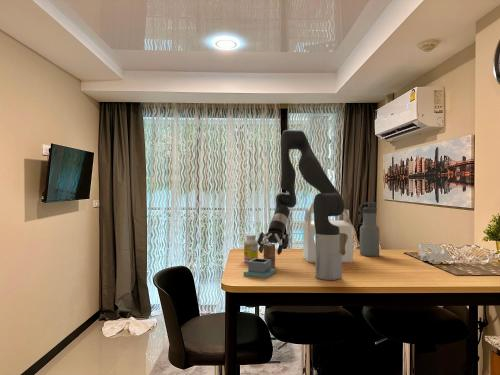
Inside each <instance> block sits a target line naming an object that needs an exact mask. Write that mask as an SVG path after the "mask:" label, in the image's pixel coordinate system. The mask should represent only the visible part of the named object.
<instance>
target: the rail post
mask: <svg viewBox="0 0 500 375" xmlns="http://www.w3.org/2000/svg"><path fill="white" fill-rule="evenodd" d="M263 259H269V260H271V269H274V268H275V267H276V243H269V244H265V245H264V249H263Z"/></svg>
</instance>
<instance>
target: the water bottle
mask: <svg viewBox="0 0 500 375" xmlns="http://www.w3.org/2000/svg"><path fill="white" fill-rule="evenodd" d="M367 205H369V206H367ZM376 205H377V203H376V202H375V201H374V202H373V201H371V202H370V201H367V202H362V203H361V204H359V206H358V212H359V214H358V216H357V217H358V220H357V221H358V225H361V226H360V227H359V254H360V255H361V256H363V255H365V256H364V257H379V256H380V227H379V226H378V225H377V212H378V211H377V207H376ZM361 216H362V222H361Z"/></svg>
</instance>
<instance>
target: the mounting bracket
mask: <svg viewBox="0 0 500 375" xmlns="http://www.w3.org/2000/svg"><path fill="white" fill-rule="evenodd" d="M418 247H419V248H418V249H419V254H420V258H421V261H422V260H428V262H427V263H429V262H441V263H442V261H445V260H449V261H451V260H452V261H454V259H453V258H452V257H451V255H450V253H449V251H448V249H447V248H443V249H442V250H441V248H440V246H439V245H438V244H437V243H420V244H419V245H418ZM427 249H430V250H432V252H431V251H430V252H426V250H427ZM442 257H443V258H442Z"/></svg>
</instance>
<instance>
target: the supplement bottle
mask: <svg viewBox="0 0 500 375" xmlns="http://www.w3.org/2000/svg"><path fill="white" fill-rule="evenodd" d="M245 238H246V239H245V240H244V242H243V261H244V262H245V263H248V261H250V260H253V259H255V258H258V259H259V244H258V242H257V241H258V239H256V238H257V235H256V234H255V233H250V234H249V233H248V234H246V235H245Z"/></svg>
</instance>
